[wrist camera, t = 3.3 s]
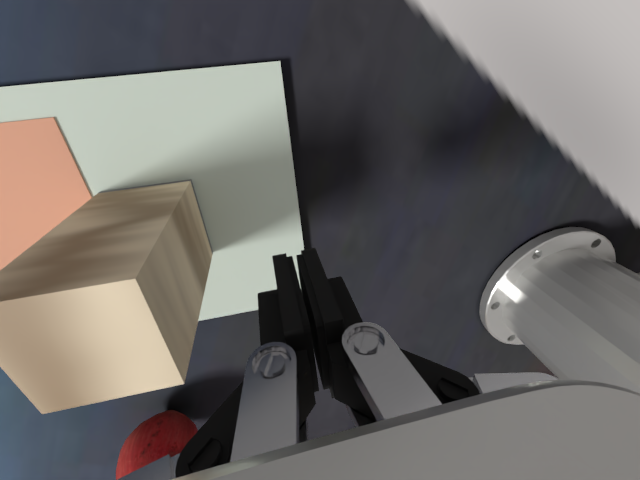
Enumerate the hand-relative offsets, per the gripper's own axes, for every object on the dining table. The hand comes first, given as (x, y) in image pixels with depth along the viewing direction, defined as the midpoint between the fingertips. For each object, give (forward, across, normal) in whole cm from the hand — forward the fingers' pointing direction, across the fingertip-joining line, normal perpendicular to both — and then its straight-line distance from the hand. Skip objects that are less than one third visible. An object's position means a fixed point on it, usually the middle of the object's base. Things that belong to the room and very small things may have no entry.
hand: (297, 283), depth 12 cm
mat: (+10, +10, 0) cm, 14 cm away
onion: (+10, +12, +18) cm, 24 cm away
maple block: (+9, +7, 0) cm, 12 cm away
